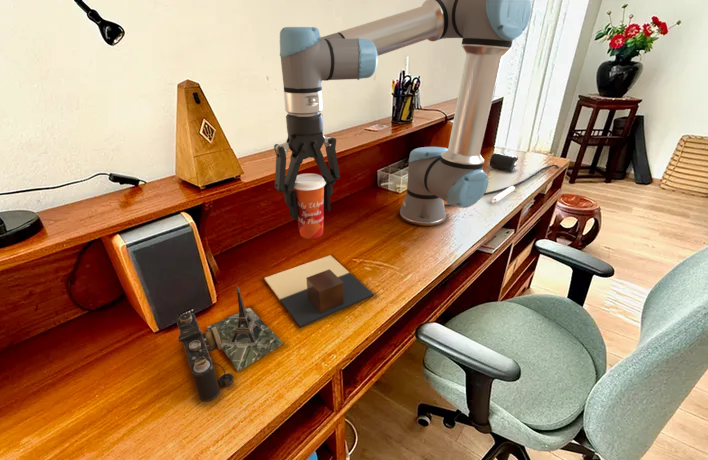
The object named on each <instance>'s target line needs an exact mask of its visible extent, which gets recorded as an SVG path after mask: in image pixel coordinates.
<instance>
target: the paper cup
mask: <svg viewBox="0 0 708 460" xmlns="http://www.w3.org/2000/svg"><path fill="white" fill-rule="evenodd" d="M325 184H326V182H325V180H324V178H323V176H322V174H318V173H309V172H308V173H300V174H297V177H296V181H295V184H294V187H293V191H294V192H295V193H296V201H297V214H298V219H297V222H298V223H297V225H298V230H299V234H300V236H301V237H302V238H304V239H308V240H310V239H317V238H319V237H321V236H323V234H324V217H325V216H324V215H325V214H324V213H325V212H324V211H325V209H324V186H325Z"/></svg>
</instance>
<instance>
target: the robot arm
mask: <svg viewBox="0 0 708 460" xmlns="http://www.w3.org/2000/svg"><path fill="white" fill-rule="evenodd" d="M531 13H532V3H531V0H424V2H423V3H422V5H421V6H419V7H415V8H411V9H409V10H406V11H402V12H399V13H395V14H392V15H389V16H385V17H383V18H379V19H376V20H372V21H369V22H366V23H363V24H360V25H356V26H354V27H350V28H347V29H343V30H341V31H337V32H334V33H331V34H328V35H327V34H326V35H324V36H321V34H320V30H319V28H318V27H316V26H285V27H283V28H281V30H280V31H279V57H280V64H281V65H280V66H281V74H282V84H283V99H284V100H283V101H284V111H285V112H286V113H287V114H286V116H285V121H286V122H285V123H286V133H287V139H286V141H285V142H283V143H281V144H278V143H275V144H274V145H273V150H274V153H275V175H274V189H276V191H278V192H279V193H282V194H283V197H284V203H285V205H286V206H287V207H288V211H289V216H290V217H291V218H292V219H293V220H294V221H298V214H297V201H296V193H295V192H294V191H293V187H294V184H295V181H296V177H297V175H299V170H300V167H301V165H302V164H303V163H304V160H306V159H307V160H308V159H309V158H310V159H311V158H312V159H313V160H314V162H315V164H316V165H317V168H318V170H319V172H320V175H321V176H322V178H324V181H325V182H326V184H325V186H324V211H327V212H331V196H333V194H334V185H335V184H336V181H338V180H340V179H341V174H340V168H339V162H338V156H337V149H336V144H337V139H336V138H335V137H333V136H331V135H327V136H325V135H324V133H323V131H324V116H323V113H321V112H322V111H323V93H322V90H323V87H322V83H323V82H322V81H326V82H327V81H340V80H342V81H343V80H357V81H359V80H362V79H369V78H371V77H372V76H373V75H374V74H375V73H376V70H377V66H378V57H379V56H381V55H382V56H383V55H385V54H387V53H388V54H389V53H392V52H394V51H397V50H399V49H402V48H405V47H408V46H412V45H414V44H417V43H420V42H424V41H426V40H428V41H429V42H437V41H439V40H443V39H462V40H461V47H462V49H463V51H464V52H465V59H464V64H463V69H462V74H461V79H460V85H459V90H458V94H457V100H456V105H455V111H454V116H453V122H452V126H451V132H450V137H449V142H448V148H447V147H442V146H424V147H417V148H414V149H412V150H411V151H410V153H409V158H408V162H407V163H408V170H407V184H406V185H407V186H406V194H405V197H404V199H403V201H402V205H401V206H400V210H399V217H400V218H401V220H402V221H404V222H406V223H408V224H411V225H413V226H419V227H433V226H438V225H441V224H443V223H444V222H445V221H446V219H447V210H446V208H445V207H451V206H455V207H456V208H460V209H466V208H470V207H472V206H473V205H475V204H477V203H478V202H479V201H481V199H482V197H483V196H487V195H492V194H495V193H501V192H503V191H504V190H506V189H507V188H509V187H510V186H514V187H515V188H516V187H517V186H519V185H522V184H524V183H525V182H527V181H528V180H530V179H532V178H534V177H535V176H537V174H540V173H541V172H543V170H547V169H549V168H552V167H555V168H556V169H559V165H558V164H550V165H547V166H544V167H542V168H540V169H539V170H538V171H536V172H534V173H532V175H530V176H528V177H526V178H524V179H522V180H521V181H519V182H516V183H514V184H512V185H509V186H506V187H503V188H499V189H496V190H492V191H487V189H488V186H489V177H488V174H487V173H486V172H485V171H484V170H483V168H484V164H485V159H484V158H483V157H482V155H481V150H482V147H483V142H484V139H485V134H486V129H487V124H488V121H489V120H488V119H489V116H490V111H491V107H492V103H493V98H494V95H495V90H496V85H497V81H498V78H499V72H500V69H501V64H502V60H503V57H504V56H505V55H506V54H507V53H508V52H510V51H511V49H512V46H513V42H514V40H516V39H518V38H519V37H521V36H522V35H523V32H524V31H526V29H527V28H528V25H529V23H530V19H531ZM323 145H324V147H325V153H326V159H327V163H326V161H325V159H324V154H323V152H322V150H321V149H322V148H323ZM288 150H290V151H291V154H290V158H289V159H290V162H289V165H288V168H287V155H288ZM327 164H328V165H327ZM286 169H287V171H286ZM486 191H487V192H486ZM445 202H446V203H445Z"/></svg>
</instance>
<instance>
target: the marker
mask: <svg viewBox="0 0 708 460" xmlns="http://www.w3.org/2000/svg"><path fill="white" fill-rule="evenodd" d="M509 186H510V187H509ZM509 186H508V187H509V188H507V189H506V190H503V191H500V192H498V194H496V195H495V196H492V198H491V199H490V203H491V204H496V203H498V202H499V201H501V200H502V199H504V198H505V197H507V196H508V195H510V194H511V193H513V192H514V191H515V190H516V186H515V187H514V186H512V185H509Z"/></svg>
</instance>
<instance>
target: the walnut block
mask: <svg viewBox="0 0 708 460" xmlns="http://www.w3.org/2000/svg"><path fill="white" fill-rule="evenodd" d="M306 279H307V292H308V299H309V300H310V302H311V303H312V304H313V305H314V306H315V308H316V309H317V310H318V311H319V312H320V313H323V312H325V311H327V310H330V309H332V308H334V307H337V306H339V305H341V304H344V295H343V282H342V281H341V280H340V279H339V278H338V277H337V276H336V275H335V274H334V273H333V272H332V271H331V270H330V269H329V270H326V271H323V272H321V273H318V274H315V275H312V276H310V277H307V278H306Z"/></svg>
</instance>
